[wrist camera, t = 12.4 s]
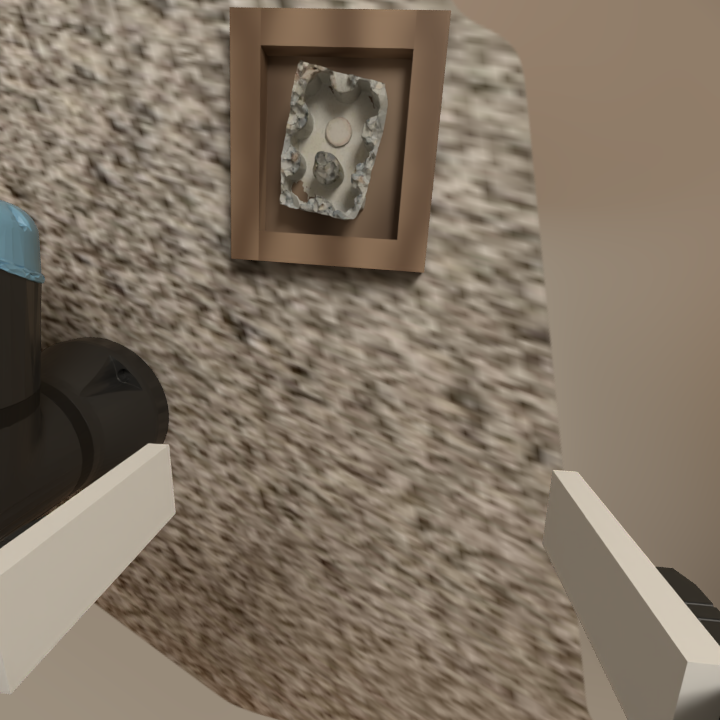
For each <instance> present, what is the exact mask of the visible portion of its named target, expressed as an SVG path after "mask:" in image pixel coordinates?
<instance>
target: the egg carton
mask: <svg viewBox="0 0 720 720" xmlns="http://www.w3.org/2000/svg"><path fill="white" fill-rule="evenodd" d="M329 86H332V89H333V90H332V91H334V94H333V93H332V91H331V89H330V88H329ZM369 96H371V97H372V100H373V103H374V107H375V108H374V107H373V103H372V102H371V100H370V98H369ZM387 107H388V98H387V93H386V89H385V84H384V83H382V82H378V81H375V80H372V79H365V78H361V77H358V76H355V75H352V74H348V75H347V74H343V73H339V72H335V71H333V70H330V69H328V68H325V67H322V66H318V65H314V64H310V63H307V62H303V61H302V60H300V61H299V63H298V67H297V72H296V73H295V78H294V85H293V89H292V94H291V102H290V108H291V109H290V114H289V119H288V122H287V126H286V136H285V140H284V146H283V151H282V155H281V195H280V204H283V205H286V206H288V207H290V208H294V209H300V210H303V211H308V212H316V213H319V214H324V215H330V216H331V217H333V218H337V219H342V220H348V219H355V218H356V216H357V214H358V212H359V210H363V209H364V206H365V201H366V197H365V196H366V192H367V189H368V184H369V182H370V178H371V170H372V168H373V165H374V163H375V159H376V155H377V151H378V147H379V144H380V141H381V138H382V134H383V130H384V125H385V119H386V114H387ZM378 110H379V111H378ZM299 180H302V182H303V185H302V186H303V187H304V192H306V193H307V194H308V199H309V196H310V197H315V195H316V197H315V198H313V199H309V200H308V199H307V200H308V202H307V203H306V202H305V203H303V201H300V200H299V198H298V196H296V195H295V194H294V193H292V190H291V187H292V184H293V182H295V183H297V182H298V181H299ZM306 186H307V188H306ZM310 188H311V189H310Z"/></svg>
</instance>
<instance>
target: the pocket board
mask: <svg viewBox="0 0 720 720" xmlns="http://www.w3.org/2000/svg"><path fill="white" fill-rule="evenodd" d="M450 15H451V11H447V10H376V9H305V8H234V7H230V138H231V259H245V260H259V261H273V262H286V263H300V264H314V265H327V266H341V267H355V268H369V269H382V270H396V271H410V272H424V267H425V257H426V248H427V238H428V228H429V219H430V209H431V199H432V190H433V180H434V170H435V160H436V151H437V141H438V131H439V122H440V112H441V102H442V93H443V83H444V73H445V64H446V54H447V44H448V35H449V25H450ZM300 60H302V61H303V62H307V63H310V64H314V65H318V66H322V67H325V68H328V69H330V70H333V71H335V72H339V73H343V74H347V75H348V74H352V75H355V76H358V77H361V78H365V79H372V80H375V81H378V82H382V83H384V84H385V89H386V93H387V98H388V107H387V114H386V119H385V125H384V130H383V134H382V138H381V141H380V144H379V147H378V151H377V155H376V159H375V163H374V165H373V168H372V170H371V178H370V182H369V184H368V189H367V192H366V196H365V197H366V201H365V206H364V209H363V210H359V212H358V214H357V216H356V218H355V219H348V220H342V219H337V218H333V217H331V216H330V215H324V214H319V213H316V212H308V211H303V210H300V209H294V208H290V207H288V206H286V205H283V204H280V195H281V155H282V151H283V146H284V140H285V136H286V126H287V122H288V119H289V114H290V109H291V108H290V102H291V94H292V89H293V85H294V78H295V73H296V72H297V67H298V63H299V61H300ZM329 88H330V89H331V91H332V90H333V89H332V86H329ZM332 93H333V94H334V91H332ZM369 98H370V100H371V102H372V103H373V100H372V97H371V96H369ZM373 107H374V103H373ZM374 108H375V107H374ZM378 111H379V110H378ZM302 185H303V182H302V180H299V181H298V182H297V183H295V182H293V184H292V187H291V190H292V193H294V194H295V195H296V196H298V198H299V200H300V201H303V203H305V202H306V203H307V202H308V200H309V199H313V198H315V197H316V195H315V197H310V196H309V199H308V194H307V193H306V192H304V187H303V186H302ZM306 188H307V186H306ZM310 189H311V188H310ZM307 199H308V200H307Z"/></svg>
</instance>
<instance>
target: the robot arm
mask: <svg viewBox="0 0 720 720" xmlns="http://www.w3.org/2000/svg"><path fill="white" fill-rule="evenodd" d="M44 280H45V278H44V276H43V275H42V274H41V261H40V246H39V233H38V229H37V226H36V224H35V223H34V221H33V220H32V218H31V217H30V216H29V215H28V214H27V213H26V212H25V211H23V210H22V209H20V208H19V207H17V206H15V205H13V204H11V203H8V202H5V201H2V200H0V693H6V694H11V693H12V692H13V691H14V690H15V689H16V688H17V687H18V686H19V685H20V684H21V682H22V681H23V680H24V679H25V678H26V677H27V676H28V675H29V674H30V673H31V672H32V670H33V669H34V668H35V667H36V666H37V665H38V664H39V663H40V662H41V661H42V659H43V658H44V657H45V656H46V655H47V654H48V653H49V652H50V651H51V650H52V648H53V647H54V646H55V645H56V644H57V643H58V642H59V641H60V640H61V638H62V637H63V636H64V635H65V634H66V633H67V632H68V631H69V630H70V628H72V626H73V625H74V624H75V623H76V622H77V621H78V620H79V619H80V618H81V617H82V616H83V614H84V613H85V612H86V611H87V610H88V609H89V608H90V607H91V606H92V604H93V603H94V602H95V601H96V600H97V599H98V598H99V597H100V596H101V595H102V594H103V592H104V591H105V590H106V589H107V588H108V587H109V586H110V585H111V584H112V583H113V582H114V580H115V579H116V578H117V577H118V576H119V575H120V574H121V573H122V572H123V571H124V569H125V568H126V567H127V566H128V565H129V564H130V563H131V562H132V561H133V560H134V558H135V557H136V556H137V555H138V554H139V553H140V552H141V551H142V550H143V549H144V547H145V546H146V545H147V544H148V543H149V542H150V541H151V540H152V539H153V538H154V537H155V535H156V534H157V533H158V532H159V531H160V530H161V529H162V528H163V527H164V526H165V524H166V523H167V522H168V521H169V520H170V519H171V518H172V517H173V516H174V515H175V513H176V511H175V501H174V491H173V481H172V470H171V460H170V450H169V445H166V444H162V443H163V441H164V439H165V436H166V433H167V429H168V421H169V413H168V405H167V400H166V397H165V394H164V391H163V388H162V386H161V384H160V382H159V380H158V379H157V377H156V375H155V374H154V372H153V371H152V370H151V368H150V367H149V366H148V365H147V364H146V363H145V362H144V361H143V360H142V359H141V358H140V357H139V356H138V355H136V354H135V353H134V352H132V351H131V350H129V349H128V348H126V347H124V346H122V345H120V344H118V343H116V342H113V341H110V340H107V339H102V338H95V337H85V338H78V339H73V340H69V341H65V342H61V343H57V344H55V345H52V346H50V347H48V348H46V349H44V350H43V351H41V288H42V283H44ZM85 487H86V488H85ZM82 488H85V489H84V490H82V491H81V492H79V493H78V494H77V495H75V496H74V497H72V498H71V499H70V500H68V501H67V502H65V503H64V504H63V505H61V506H60V507H58V508H57V509H55V510H54V511H53V512H51V513H50V514H48V515H45V516H43V517H41V518H39V519H37V518H38V517H40V516H41V515H43V514H44V513H45V512H47V511H48V510H50V509H51V508H52V507H54V506H55V505H57V504H58V503H59V502H61V501H62V500H64V499H65V498H66V497H68V496H69V495H71V494H72V493H73V492H75V491H76V490H78V489H82ZM36 519H37V520H36ZM34 520H35V521H34ZM542 544H543V546H544V548H545V550H546V552H547V554H548V556H549V558H550V561H551V563H552V565H553V567H554V569H555V571H556V573H557V575H558V577H559V579H560V581H561V583H562V585H563V587H564V589H565V592H566V594H567V596H568V598H569V600H570V602H571V604H572V606H573V608H574V610H575V612H576V614H577V616H578V618H579V620H580V623H581V625H582V627H583V629H584V631H585V633H586V635H587V637H588V639H589V641H590V643H591V645H592V647H593V649H594V651H595V653H596V656H597V658H598V660H599V662H600V664H601V666H602V668H603V670H604V672H605V674H606V676H607V678H608V680H609V682H610V685H611V686H612V689H613V691H614V693H615V695H616V697H617V699H618V701H619V703H620V705H621V707H622V709H623V711H624V713H625V716H626V718H627V720H720V611H719V610H718V609H717V608H715V607H713V604H712V602H711V601H710V600H709V599H708V598H707V597H706V596H705V595H704V593H703V592H702V591H701V590H700V589H699V588H698V587H697V586H696V585H695V584H694V583H693V582H691V581H690V580H688V579H687V578H686V577H684V576H683V575H681V574H680V573H679V572H677V571H676V570H674V569H673V568H664V567H655V566H654V565H653V564H652V562H651V561H650V560H649V559H648V558H647V556H646V555H645V554H644V553H643V552H642V550H641V549H640V548H639V547H638V545H637V544H636V543H635V542H634V540H633V539H632V538H631V537H630V535H629V534H628V533H627V532H626V531H625V530H624V528H623V527H622V526H621V525H620V523H619V522H618V521H617V520H616V518H615V517H614V516H613V515H612V513H611V512H610V511H609V510H608V509H607V507H606V506H605V505H604V504H603V502H602V501H601V500H600V499H599V498H598V496H597V495H596V494H595V493H594V491H593V490H592V489H591V488H590V486H589V485H588V484H587V483H586V482H585V480H584V479H583V478H582V477H581V475H580V474H579V473H578V472H574V471H560V470H553V472H552V479H551V486H550V493H549V500H548V507H547V514H546V522H545V529H544V536H543V543H542Z"/></svg>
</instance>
